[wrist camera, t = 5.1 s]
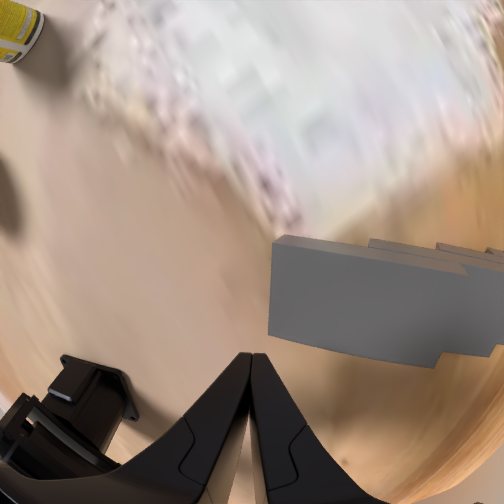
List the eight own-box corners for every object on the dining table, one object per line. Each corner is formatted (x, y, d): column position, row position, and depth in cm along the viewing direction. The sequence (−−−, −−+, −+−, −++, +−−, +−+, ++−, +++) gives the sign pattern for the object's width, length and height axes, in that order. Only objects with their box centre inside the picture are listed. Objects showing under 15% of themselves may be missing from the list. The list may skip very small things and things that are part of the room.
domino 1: (284, 234, 14) (459, 263, 10) (278, 320, 15) (431, 350, 12) (272, 242, 12) (468, 275, 9) (267, 335, 14) (433, 368, 10)
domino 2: (370, 238, 13) (511, 265, 9) (355, 320, 15) (483, 342, 11) (368, 246, 12) (521, 276, 8) (350, 335, 14) (489, 357, 10)
